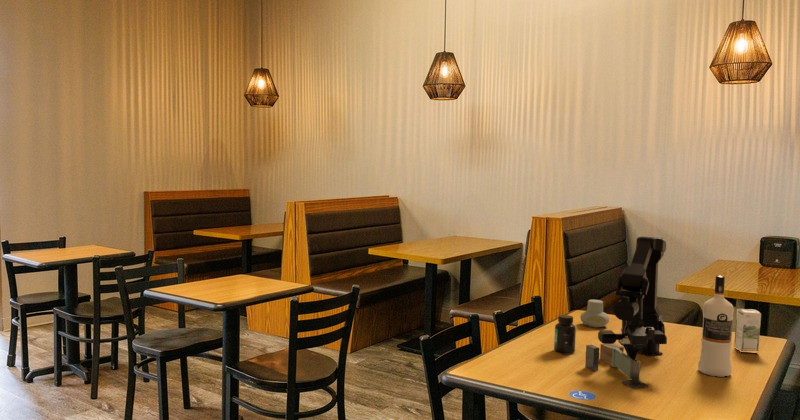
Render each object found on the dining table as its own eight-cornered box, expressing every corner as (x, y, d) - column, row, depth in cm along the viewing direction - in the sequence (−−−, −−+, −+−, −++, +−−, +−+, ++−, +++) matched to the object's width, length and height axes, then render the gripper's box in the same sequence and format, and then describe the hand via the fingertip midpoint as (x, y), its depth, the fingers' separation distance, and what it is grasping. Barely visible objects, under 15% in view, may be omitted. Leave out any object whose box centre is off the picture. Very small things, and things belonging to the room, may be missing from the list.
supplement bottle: (552, 352, 209) (554, 317, 208) (555, 347, 215) (556, 313, 215) (573, 355, 207) (575, 319, 206) (575, 350, 213) (577, 315, 212)
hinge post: (635, 381, 183) (636, 357, 182) (648, 386, 178) (649, 362, 178) (622, 383, 181) (623, 359, 180) (634, 388, 176) (635, 364, 176)
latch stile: (591, 366, 195) (592, 344, 195) (599, 370, 192) (600, 347, 192) (585, 367, 195) (586, 345, 194) (592, 370, 191) (593, 348, 191)
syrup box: (750, 349, 220) (753, 308, 219) (758, 354, 214) (761, 312, 213) (733, 348, 220) (736, 307, 219) (741, 353, 214) (743, 311, 213)
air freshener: (581, 327, 245) (582, 302, 244) (578, 322, 253) (580, 298, 252) (610, 329, 243) (611, 304, 242) (607, 324, 251) (608, 299, 251)
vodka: (728, 370, 195) (734, 274, 193) (734, 379, 187) (740, 279, 185) (695, 366, 198) (701, 272, 196) (700, 375, 189) (706, 277, 187)
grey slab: (636, 382, 181) (637, 362, 181) (629, 382, 181) (630, 362, 181) (617, 365, 196) (618, 347, 196) (611, 365, 196) (612, 347, 196)
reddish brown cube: (612, 357, 206) (612, 342, 205) (622, 362, 201) (623, 347, 201) (599, 359, 204) (600, 344, 203) (610, 363, 199) (611, 348, 199)
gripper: (607, 320, 180) (606, 373, 181) (673, 320, 179) (673, 374, 180) (597, 311, 192) (597, 361, 192) (660, 311, 190) (660, 362, 191)
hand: (631, 365), depth 189 cm, fingers closed
